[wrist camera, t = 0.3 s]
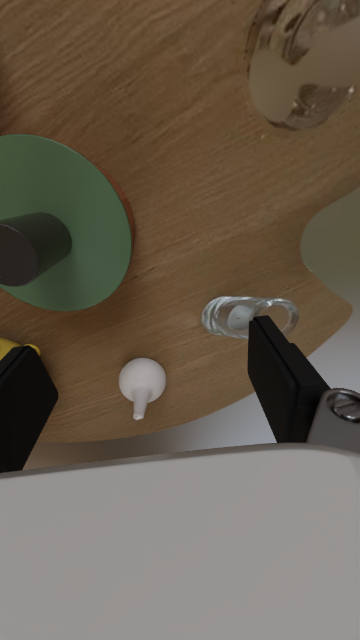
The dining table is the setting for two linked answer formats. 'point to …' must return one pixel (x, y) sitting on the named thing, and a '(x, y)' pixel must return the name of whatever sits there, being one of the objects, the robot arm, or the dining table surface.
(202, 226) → the dining table surface
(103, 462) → the robot arm
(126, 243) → the lid
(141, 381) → the garlic bulb
